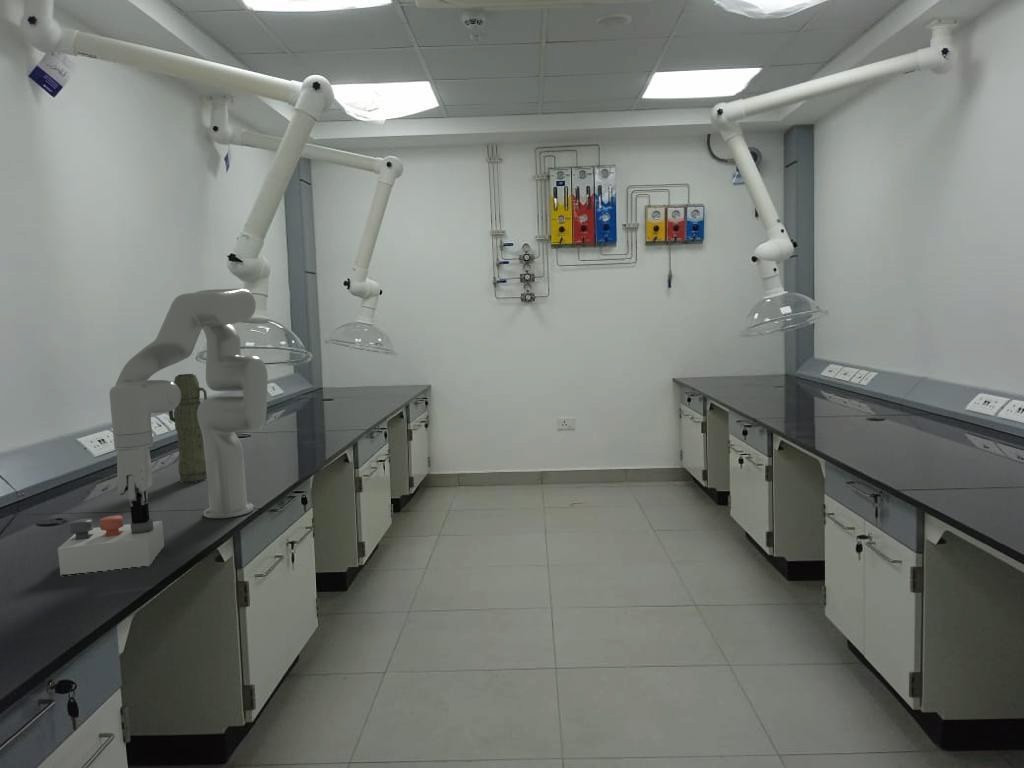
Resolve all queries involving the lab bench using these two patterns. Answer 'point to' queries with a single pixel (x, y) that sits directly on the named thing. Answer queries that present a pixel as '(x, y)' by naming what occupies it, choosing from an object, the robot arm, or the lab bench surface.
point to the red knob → (111, 525)
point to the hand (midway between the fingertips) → (140, 522)
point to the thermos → (189, 429)
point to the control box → (110, 550)
